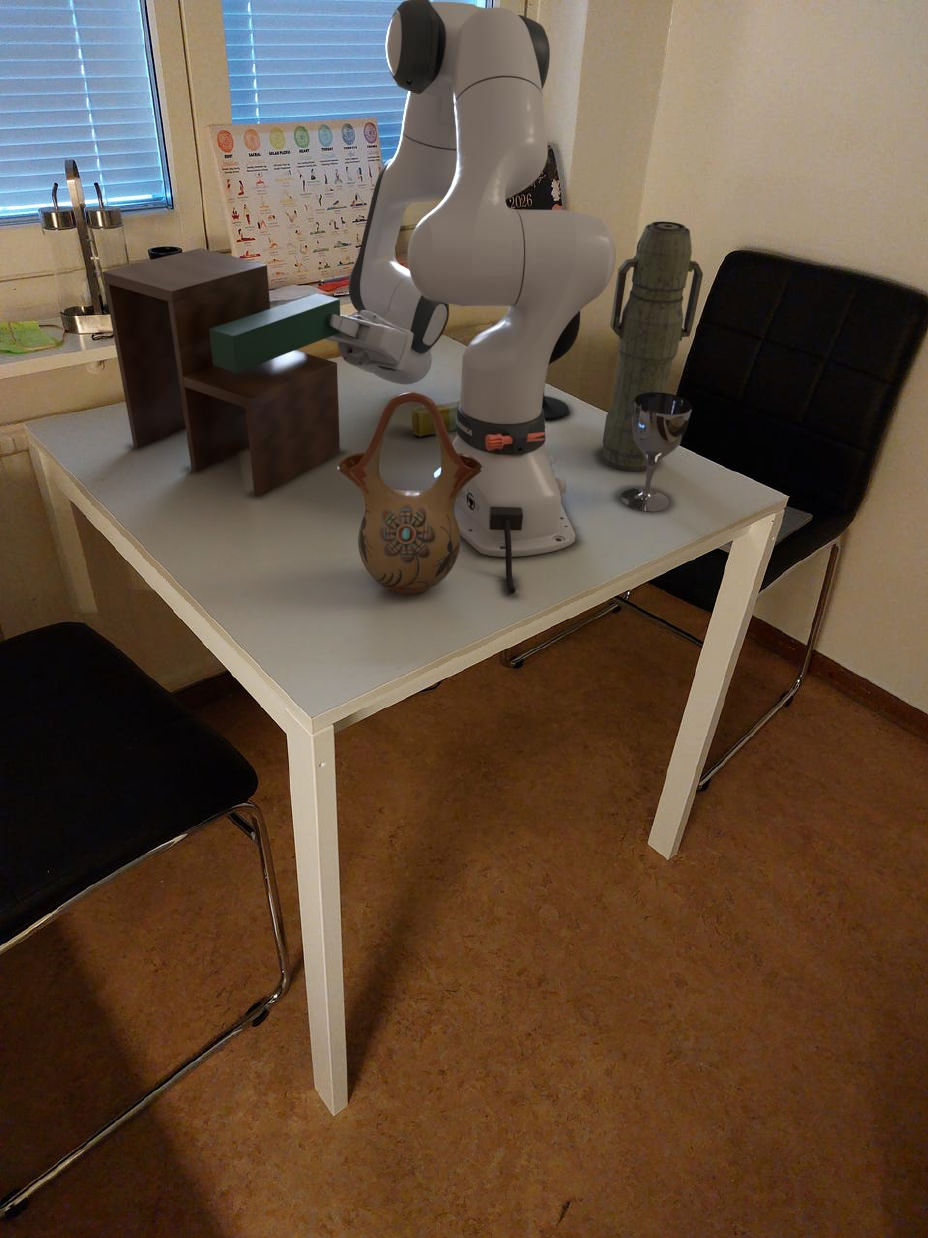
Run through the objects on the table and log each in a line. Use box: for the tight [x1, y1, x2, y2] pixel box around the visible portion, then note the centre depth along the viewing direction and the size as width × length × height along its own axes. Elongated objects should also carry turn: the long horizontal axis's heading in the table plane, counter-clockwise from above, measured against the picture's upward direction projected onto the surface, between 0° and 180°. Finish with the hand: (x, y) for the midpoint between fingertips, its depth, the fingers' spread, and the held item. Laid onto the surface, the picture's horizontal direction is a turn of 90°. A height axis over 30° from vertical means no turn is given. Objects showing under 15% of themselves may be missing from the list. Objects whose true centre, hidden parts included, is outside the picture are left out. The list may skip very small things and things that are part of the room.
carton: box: [209, 293, 341, 373], centre depth 127 cm, size 22×4×5 cm, turn 147°
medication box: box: [410, 400, 461, 437], centre depth 147 cm, size 12×3×4 cm, turn 123°
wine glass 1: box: [542, 310, 581, 421], centre depth 152 cm, size 10×10×20 cm
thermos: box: [600, 220, 704, 472], centre depth 133 cm, size 9×12×35 cm
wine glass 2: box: [620, 392, 693, 513], centre depth 127 cm, size 8×8×15 cm
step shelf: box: [101, 247, 341, 497], centre depth 131 cm, size 18×26×26 cm
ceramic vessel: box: [336, 391, 483, 595], centre depth 103 cm, size 16×9×25 cm, turn 95°
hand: (314, 314), depth 132 cm, fingers closed on carton, 4 cm apart
